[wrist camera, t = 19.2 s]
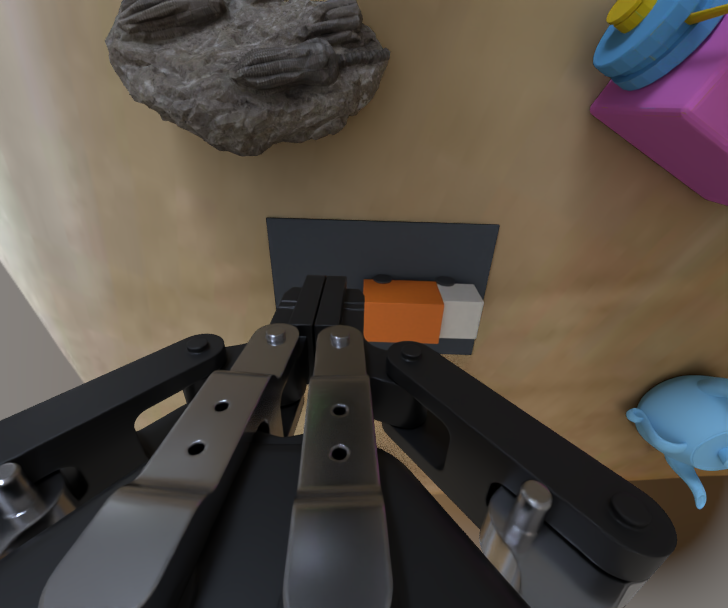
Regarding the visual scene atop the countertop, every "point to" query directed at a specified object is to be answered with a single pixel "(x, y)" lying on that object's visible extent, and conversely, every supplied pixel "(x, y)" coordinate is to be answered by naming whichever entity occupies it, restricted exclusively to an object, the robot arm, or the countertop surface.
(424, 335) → the truck
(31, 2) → the countertop surface
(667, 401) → the teapot
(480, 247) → the mat
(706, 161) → the toy
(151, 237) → the countertop surface
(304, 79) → the fossil
